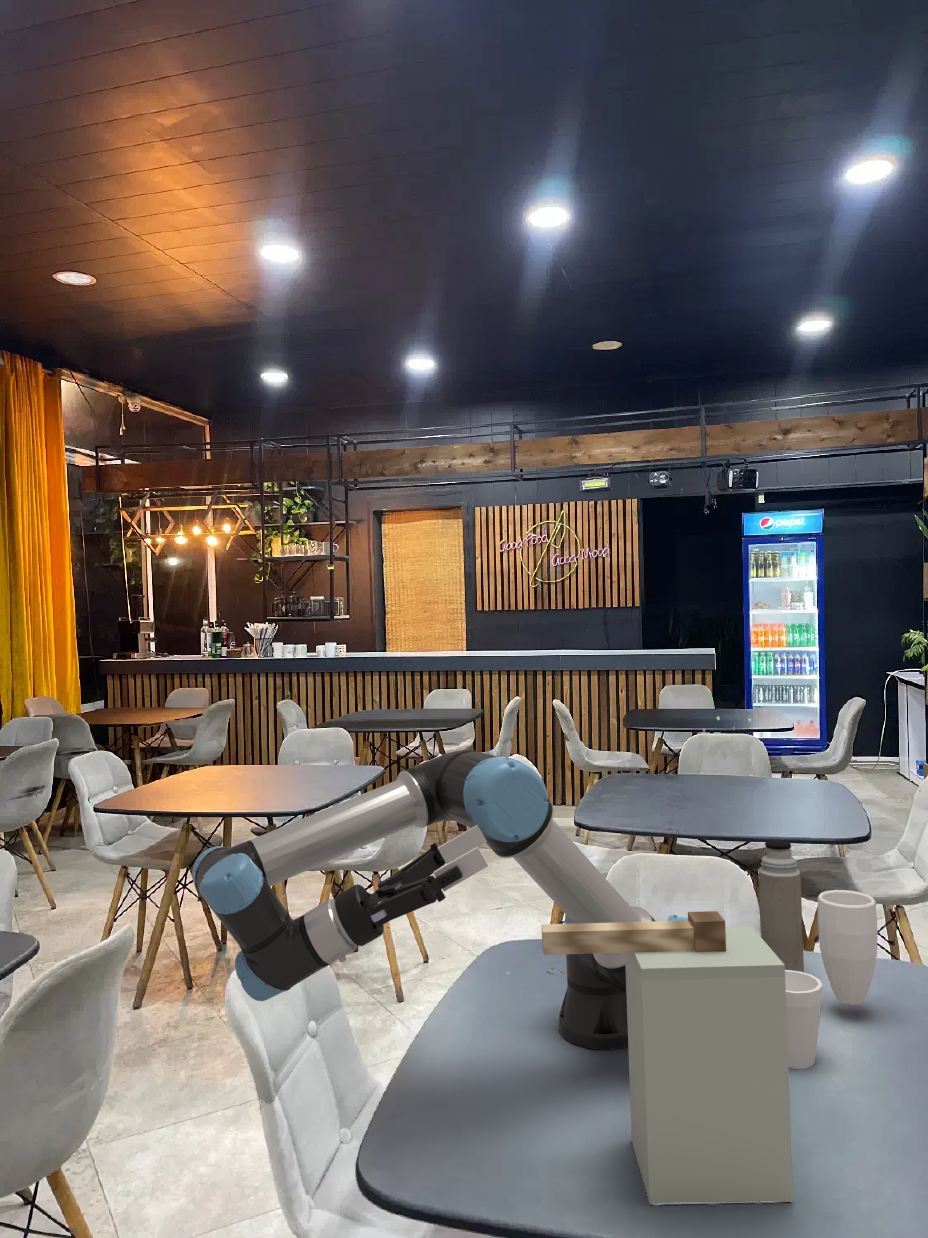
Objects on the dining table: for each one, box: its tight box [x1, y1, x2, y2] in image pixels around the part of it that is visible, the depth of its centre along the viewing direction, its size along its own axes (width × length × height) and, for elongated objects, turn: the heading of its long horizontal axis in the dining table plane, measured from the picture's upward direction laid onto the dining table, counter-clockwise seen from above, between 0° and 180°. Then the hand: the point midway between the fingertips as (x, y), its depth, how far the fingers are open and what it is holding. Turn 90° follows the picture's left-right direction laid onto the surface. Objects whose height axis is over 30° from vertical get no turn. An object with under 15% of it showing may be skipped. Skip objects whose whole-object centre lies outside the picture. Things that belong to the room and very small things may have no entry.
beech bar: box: [541, 910, 726, 956], centre depth 120 cm, size 24×4×4 cm, turn 89°
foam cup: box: [785, 970, 824, 1070], centre depth 148 cm, size 10×9×13 cm
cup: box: [817, 889, 879, 1006], centre depth 163 cm, size 10×10×22 cm
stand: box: [625, 926, 794, 1205], centre depth 120 cm, size 18×14×30 cm
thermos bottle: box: [757, 839, 805, 973], centre depth 179 cm, size 8×8×28 cm
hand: (482, 844), depth 121 cm, fingers open, 13 cm apart
